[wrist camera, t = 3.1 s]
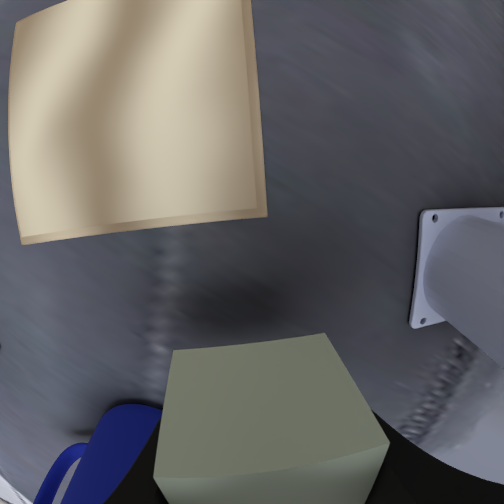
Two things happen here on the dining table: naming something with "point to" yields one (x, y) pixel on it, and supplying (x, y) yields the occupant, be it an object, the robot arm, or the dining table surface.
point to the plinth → (134, 117)
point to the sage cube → (266, 427)
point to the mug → (101, 456)
